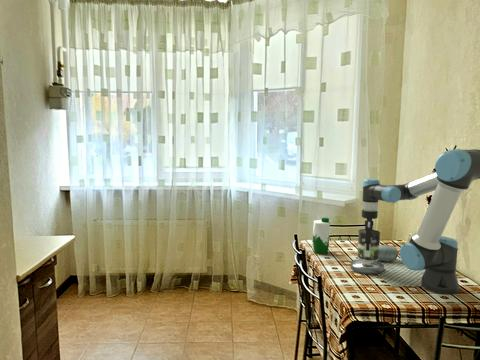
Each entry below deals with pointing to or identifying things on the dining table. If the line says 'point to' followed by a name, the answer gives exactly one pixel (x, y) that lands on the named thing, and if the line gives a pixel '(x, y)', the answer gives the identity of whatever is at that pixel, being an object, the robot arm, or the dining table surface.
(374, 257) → the coffee can
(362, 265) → the plate
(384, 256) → the gray rounded cylinder
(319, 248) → the milk carton
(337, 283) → the dining table surface
